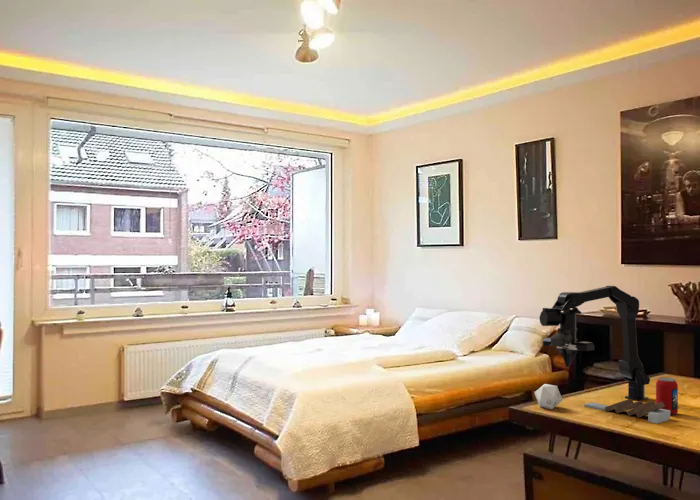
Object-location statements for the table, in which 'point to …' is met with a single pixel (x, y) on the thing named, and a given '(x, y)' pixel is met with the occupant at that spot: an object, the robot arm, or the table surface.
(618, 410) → the tile
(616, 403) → the tile
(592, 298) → the robot arm
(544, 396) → the die
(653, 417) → the block
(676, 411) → the beverage can
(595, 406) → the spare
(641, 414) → the tile
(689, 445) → the table surface
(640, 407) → the tile
